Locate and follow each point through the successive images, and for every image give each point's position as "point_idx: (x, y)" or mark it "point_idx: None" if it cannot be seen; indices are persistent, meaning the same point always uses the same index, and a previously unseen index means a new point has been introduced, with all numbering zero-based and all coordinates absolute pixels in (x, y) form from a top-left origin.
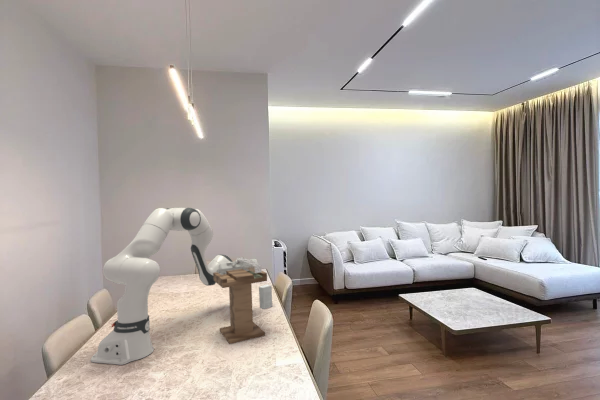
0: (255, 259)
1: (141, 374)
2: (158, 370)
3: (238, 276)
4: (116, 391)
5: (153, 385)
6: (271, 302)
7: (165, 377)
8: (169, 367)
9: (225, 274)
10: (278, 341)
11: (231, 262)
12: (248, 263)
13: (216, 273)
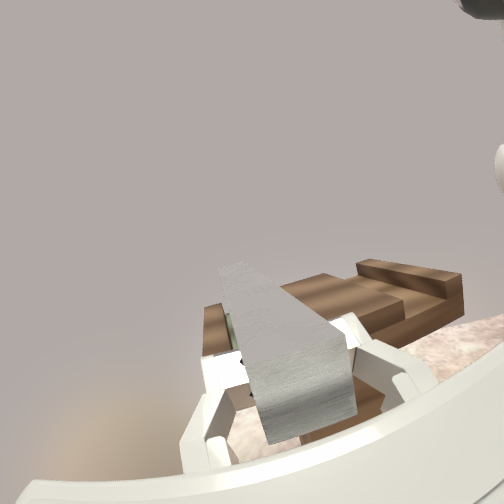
0: (45, 481)
1: (492, 341)
2: (476, 351)
3: (317, 278)
4: (490, 320)
5: (454, 335)
6: None
7: (451, 346)
8: (464, 359)
9: (409, 315)
10: (251, 447)
11: (444, 381)
12: (256, 270)
13: (435, 273)
